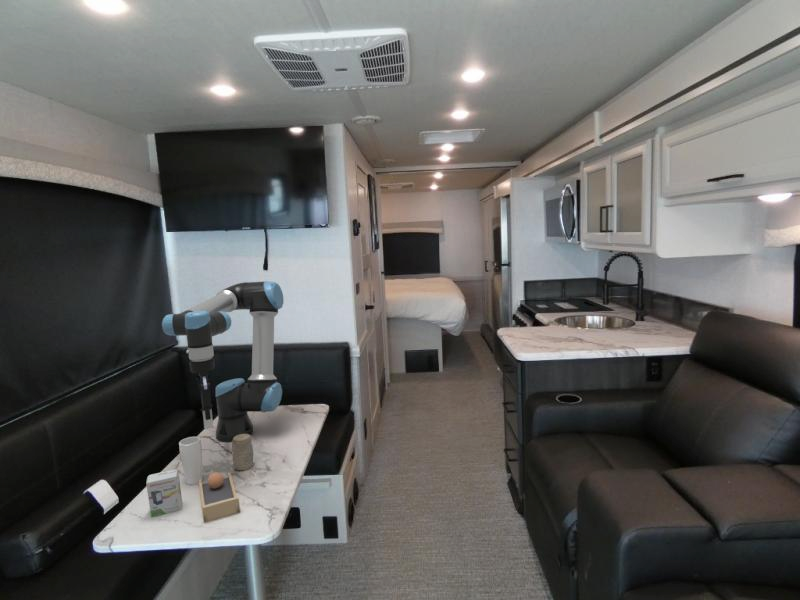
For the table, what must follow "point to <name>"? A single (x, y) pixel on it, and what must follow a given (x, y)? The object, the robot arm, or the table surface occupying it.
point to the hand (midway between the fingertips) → (208, 427)
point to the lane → (219, 500)
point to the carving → (242, 452)
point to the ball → (215, 480)
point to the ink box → (164, 492)
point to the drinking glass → (191, 459)
